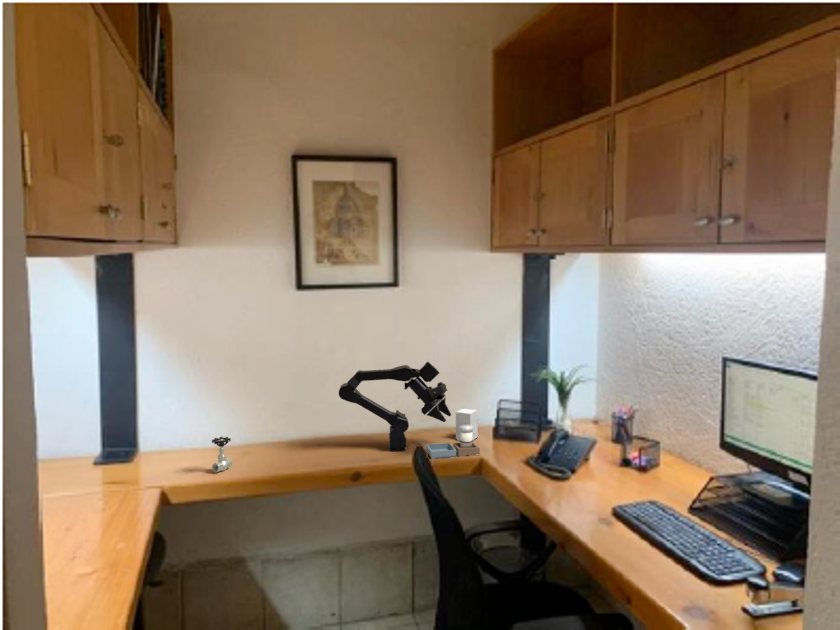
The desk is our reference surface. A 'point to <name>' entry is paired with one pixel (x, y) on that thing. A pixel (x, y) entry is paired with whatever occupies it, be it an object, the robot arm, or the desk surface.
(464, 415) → the supplement box
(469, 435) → the cartridge fuse
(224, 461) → the valve
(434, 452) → the parts tray
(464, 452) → the brown square tray
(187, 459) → the desk surface
